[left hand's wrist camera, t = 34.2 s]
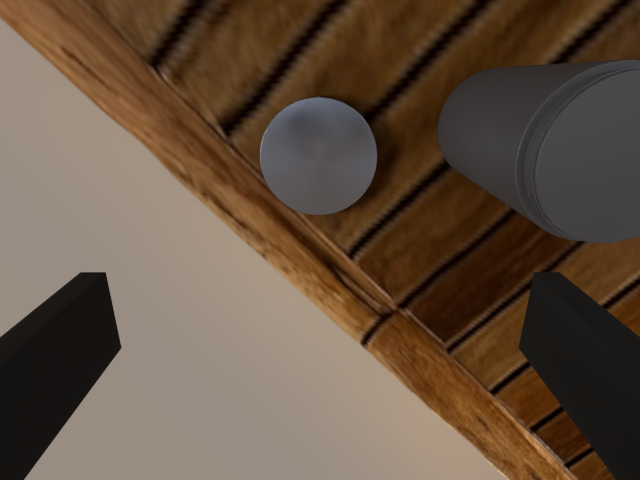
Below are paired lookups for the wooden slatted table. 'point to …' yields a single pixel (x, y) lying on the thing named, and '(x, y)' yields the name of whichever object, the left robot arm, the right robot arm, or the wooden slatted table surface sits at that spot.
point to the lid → (318, 155)
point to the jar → (553, 144)
